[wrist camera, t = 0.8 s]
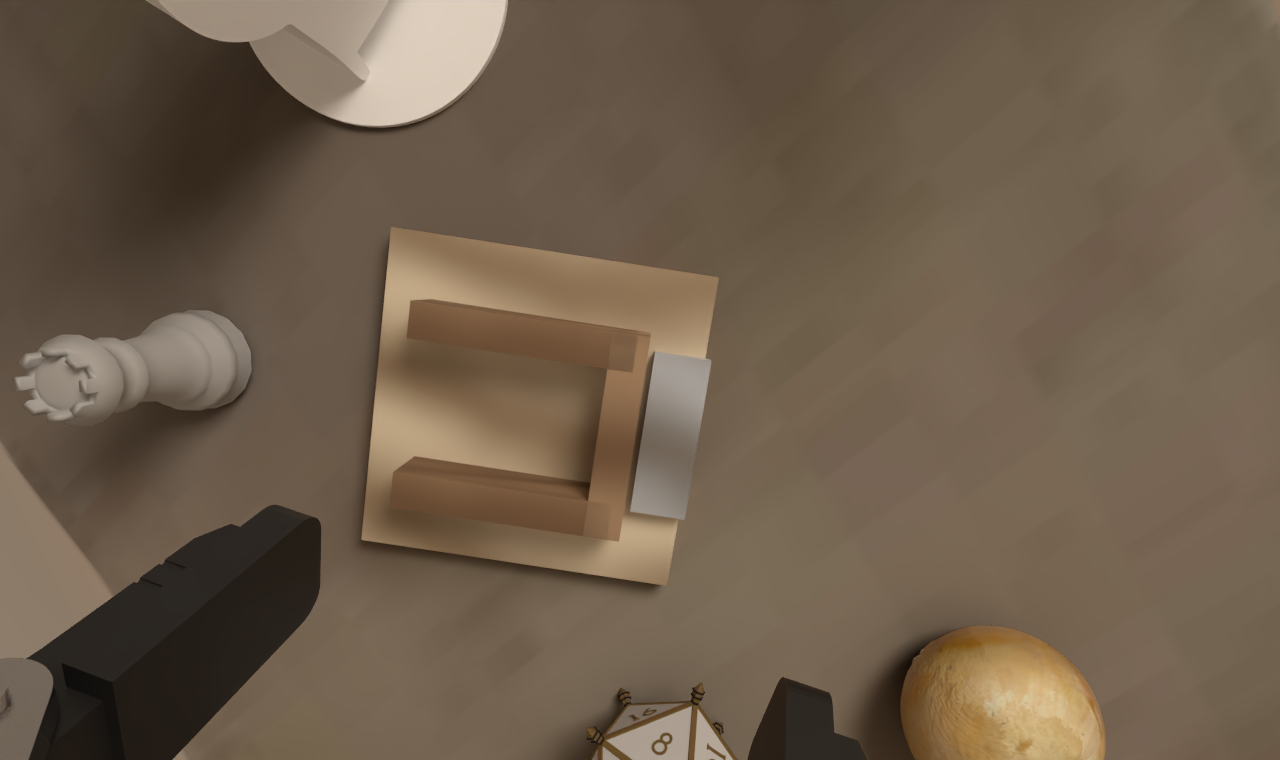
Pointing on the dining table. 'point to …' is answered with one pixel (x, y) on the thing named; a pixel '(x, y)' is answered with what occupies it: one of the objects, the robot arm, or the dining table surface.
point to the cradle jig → (536, 406)
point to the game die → (660, 732)
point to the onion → (998, 700)
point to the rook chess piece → (138, 370)
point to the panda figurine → (359, 50)
